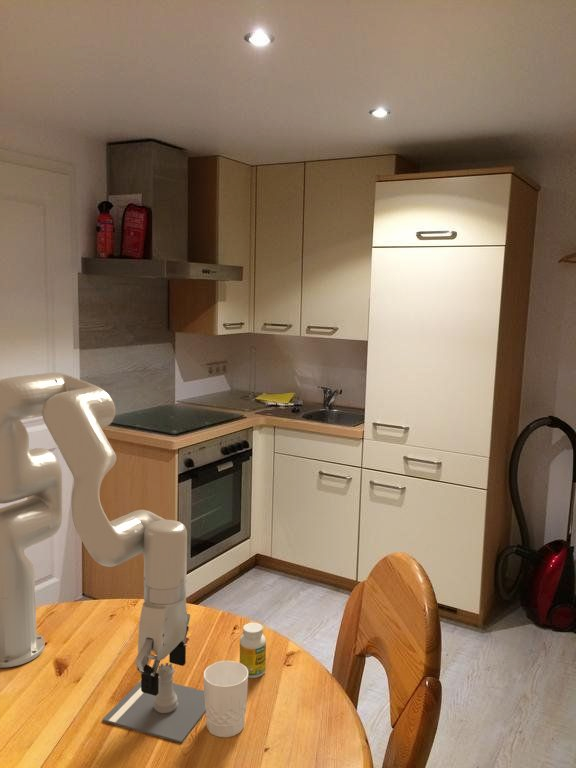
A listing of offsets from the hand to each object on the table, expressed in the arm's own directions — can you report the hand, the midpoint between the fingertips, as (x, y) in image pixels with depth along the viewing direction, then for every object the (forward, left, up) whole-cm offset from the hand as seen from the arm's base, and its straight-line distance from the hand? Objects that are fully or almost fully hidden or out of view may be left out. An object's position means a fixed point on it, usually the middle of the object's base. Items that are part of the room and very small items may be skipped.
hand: (164, 677), depth 118 cm
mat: (0, 0, -6) cm, 6 cm away
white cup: (+12, 0, -6) cm, 14 cm away
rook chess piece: (0, 0, -6) cm, 6 cm away
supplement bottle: (+11, +17, -6) cm, 21 cm away
